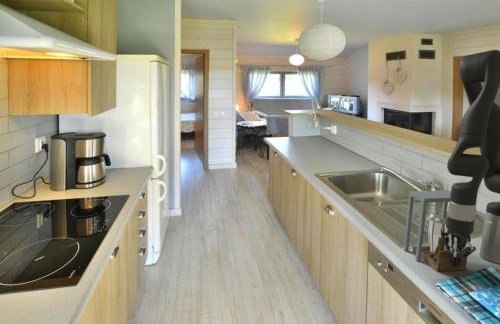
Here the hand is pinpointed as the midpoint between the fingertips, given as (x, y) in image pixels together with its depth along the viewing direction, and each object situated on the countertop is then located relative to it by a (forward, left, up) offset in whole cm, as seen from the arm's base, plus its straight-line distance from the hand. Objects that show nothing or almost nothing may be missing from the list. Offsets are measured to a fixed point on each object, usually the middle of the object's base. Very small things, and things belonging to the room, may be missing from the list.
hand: (454, 266), depth 110 cm
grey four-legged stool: (-6, -14, -4) cm, 15 cm away
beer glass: (-5, -10, -4) cm, 12 cm away
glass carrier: (-5, -9, -3) cm, 11 cm away
